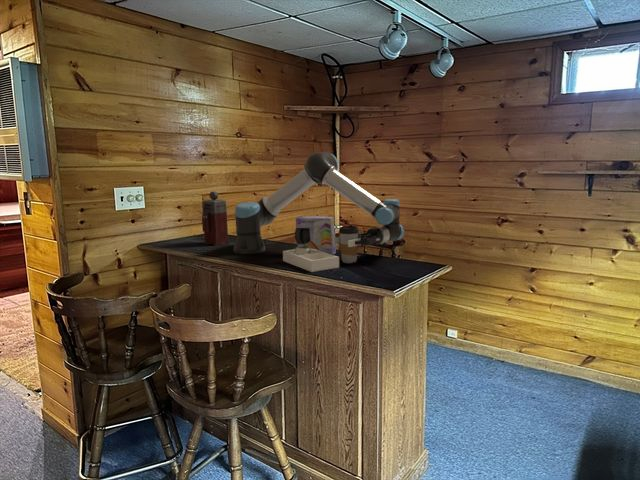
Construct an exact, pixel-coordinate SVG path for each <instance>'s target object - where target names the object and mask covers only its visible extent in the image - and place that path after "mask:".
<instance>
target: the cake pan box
mask: <svg viewBox="0 0 640 480" xmlns="http://www.w3.org/2000/svg"><path fill="white" fill-rule="evenodd" d="M335 231H336V230H335V217H334V216H322V215H314V216H313V215H311V216H310V215H308V216H307V215H299V216H297V217H295V230H294V239H295V242H296V244H297V245H296V246H297V247H311V248H312V249H315V250H318V251H322V252H325V253H328V254H332V255H335V254H336V253H337V250H336V246H337V245H336V244H333V238H336V235H335V234H336V233H335Z"/></svg>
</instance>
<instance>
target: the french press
mask: <svg viewBox="0 0 640 480" xmlns="http://www.w3.org/2000/svg"><path fill="white" fill-rule="evenodd" d="M208 196H209V199H207V200H206V199H205V200H203V201H202V202H201V205H202V212H201V213H202V214H201V226H202V232H203V234H204V235H203V236H204V244H205V243H207V244H222V243H226V242H228V243H229V228H228V211H227V200H225V199H218V197H219V193H218V192H217V191H215V190H213V191H210V193H209V195H208ZM226 244H227V243H226ZM222 245H223V244H222Z"/></svg>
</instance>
